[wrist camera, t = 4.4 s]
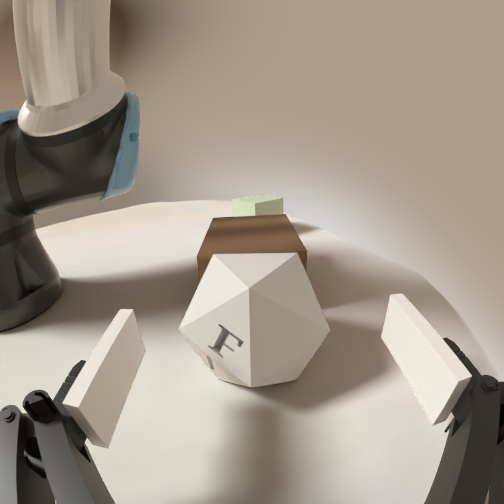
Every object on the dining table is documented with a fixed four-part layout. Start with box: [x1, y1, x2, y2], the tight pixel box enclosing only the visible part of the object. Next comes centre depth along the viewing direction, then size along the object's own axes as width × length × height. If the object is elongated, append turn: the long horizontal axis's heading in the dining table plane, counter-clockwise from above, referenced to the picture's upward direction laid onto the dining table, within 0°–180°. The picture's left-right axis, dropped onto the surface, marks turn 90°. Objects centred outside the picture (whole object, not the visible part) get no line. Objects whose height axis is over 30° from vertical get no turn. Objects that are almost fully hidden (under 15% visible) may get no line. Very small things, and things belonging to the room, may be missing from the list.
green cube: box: [233, 194, 283, 217], centre depth 48 cm, size 6×6×6 cm
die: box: [178, 253, 330, 387], centre depth 18 cm, size 8×9×10 cm
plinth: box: [197, 214, 307, 281], centre depth 30 cm, size 13×9×6 cm
